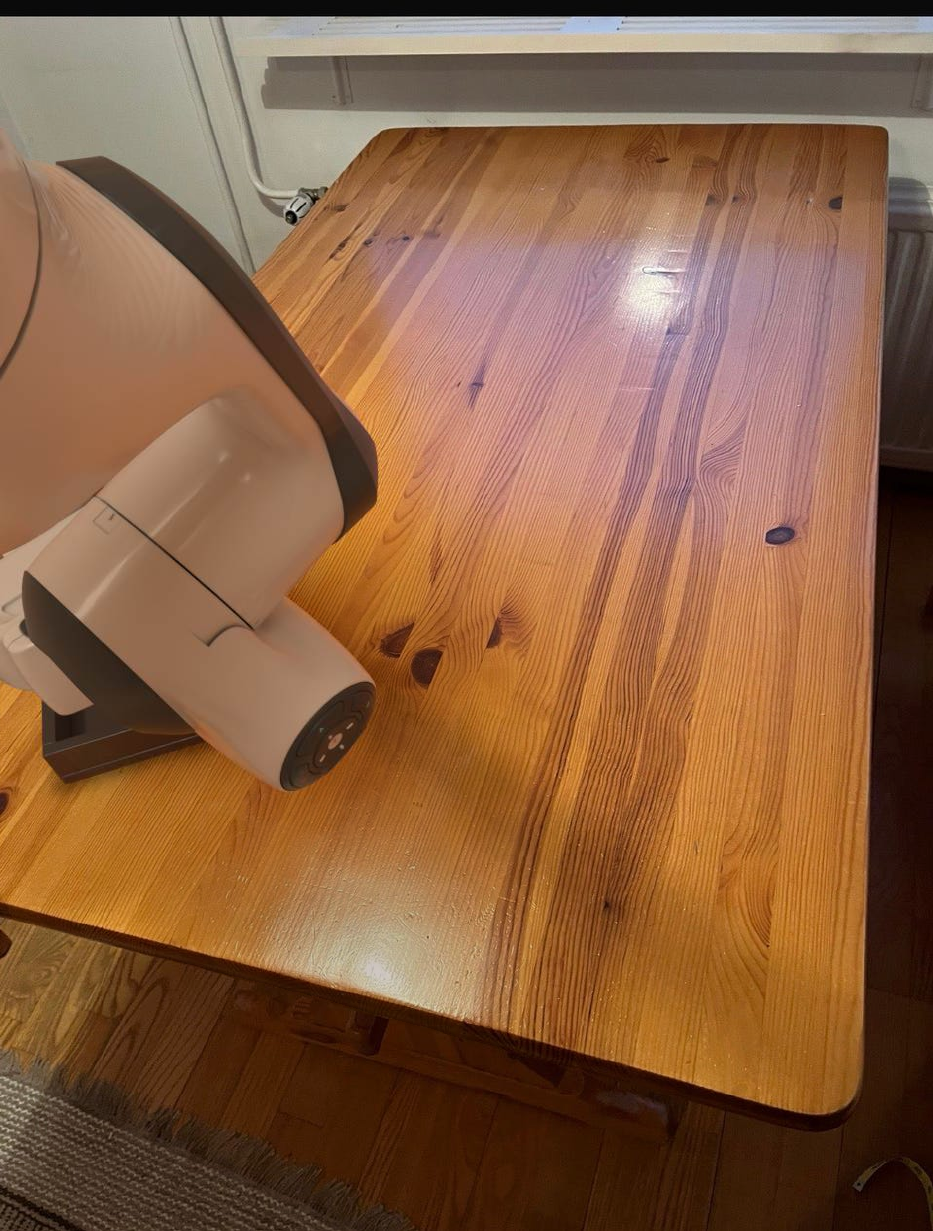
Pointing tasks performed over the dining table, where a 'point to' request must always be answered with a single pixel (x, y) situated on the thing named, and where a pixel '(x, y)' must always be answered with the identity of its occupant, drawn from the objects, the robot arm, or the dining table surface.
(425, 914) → the dining table surface
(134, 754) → the dark shallow tray
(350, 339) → the dining table surface
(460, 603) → the dining table surface
